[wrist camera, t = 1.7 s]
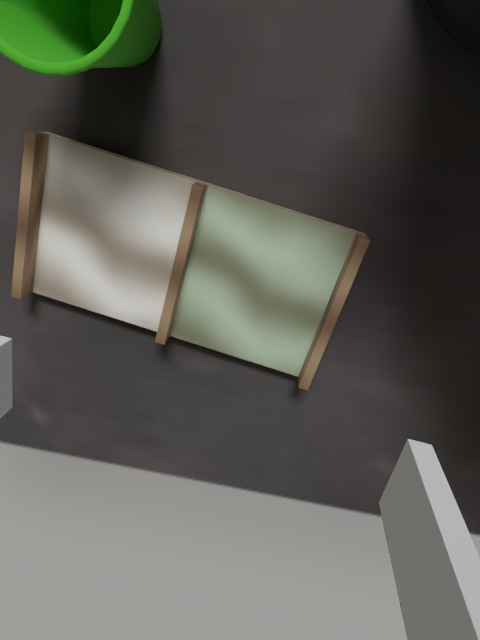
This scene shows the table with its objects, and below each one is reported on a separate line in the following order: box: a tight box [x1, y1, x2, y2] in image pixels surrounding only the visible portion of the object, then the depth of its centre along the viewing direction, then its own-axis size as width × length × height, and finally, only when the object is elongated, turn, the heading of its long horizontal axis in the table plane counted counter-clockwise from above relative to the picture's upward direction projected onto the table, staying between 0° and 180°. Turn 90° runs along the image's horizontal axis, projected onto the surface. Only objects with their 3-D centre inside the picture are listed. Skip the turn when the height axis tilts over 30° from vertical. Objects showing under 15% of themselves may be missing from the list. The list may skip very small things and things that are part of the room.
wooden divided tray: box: [11, 131, 370, 390], centre depth 35 cm, size 13×26×3 cm, turn 74°
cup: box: [0, 0, 162, 76], centre depth 25 cm, size 9×9×11 cm
